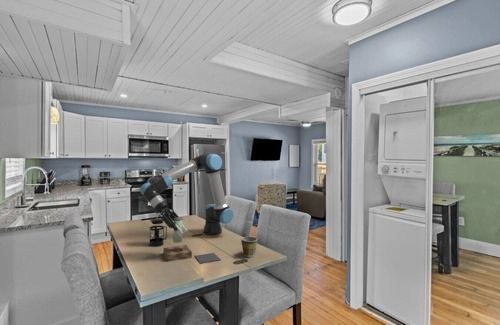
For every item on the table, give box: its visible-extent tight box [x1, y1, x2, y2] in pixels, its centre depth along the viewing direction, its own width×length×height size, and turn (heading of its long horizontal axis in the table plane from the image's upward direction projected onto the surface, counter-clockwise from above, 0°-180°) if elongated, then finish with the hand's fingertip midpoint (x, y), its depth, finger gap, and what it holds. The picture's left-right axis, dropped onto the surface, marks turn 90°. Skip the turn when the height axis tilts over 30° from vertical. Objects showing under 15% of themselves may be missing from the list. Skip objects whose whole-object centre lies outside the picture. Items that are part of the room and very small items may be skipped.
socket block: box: [163, 244, 193, 262], centre depth 152 cm, size 14×14×4 cm
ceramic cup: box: [240, 236, 258, 258], centre depth 156 cm, size 13×10×10 cm
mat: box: [194, 252, 222, 265], centre depth 148 cm, size 12×12×1 cm
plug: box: [172, 216, 183, 244], centre depth 152 cm, size 5×5×14 cm
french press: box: [148, 210, 168, 248], centre depth 172 cm, size 12×9×23 cm
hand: (183, 233), depth 151 cm, fingers closed on plug, 5 cm apart
